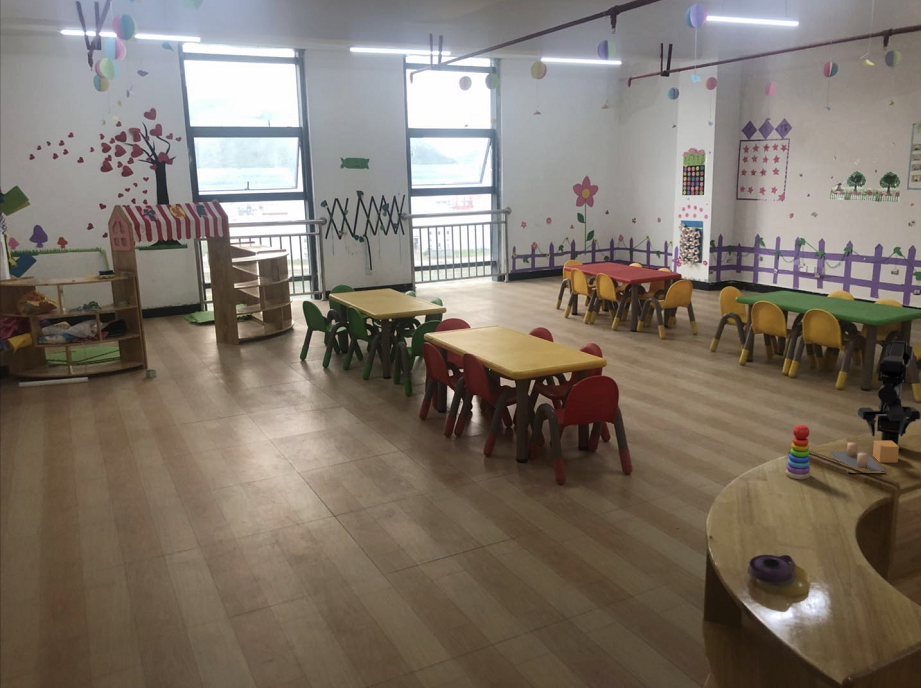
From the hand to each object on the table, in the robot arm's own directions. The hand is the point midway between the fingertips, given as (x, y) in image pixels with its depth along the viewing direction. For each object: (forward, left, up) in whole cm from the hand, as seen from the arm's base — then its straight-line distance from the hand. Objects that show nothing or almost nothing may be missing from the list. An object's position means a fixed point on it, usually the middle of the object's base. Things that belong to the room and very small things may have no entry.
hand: (886, 436), depth 264 cm
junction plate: (+4, -11, -9) cm, 15 cm away
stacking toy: (+15, -34, -9) cm, 38 cm away
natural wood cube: (0, 0, -9) cm, 9 cm away
